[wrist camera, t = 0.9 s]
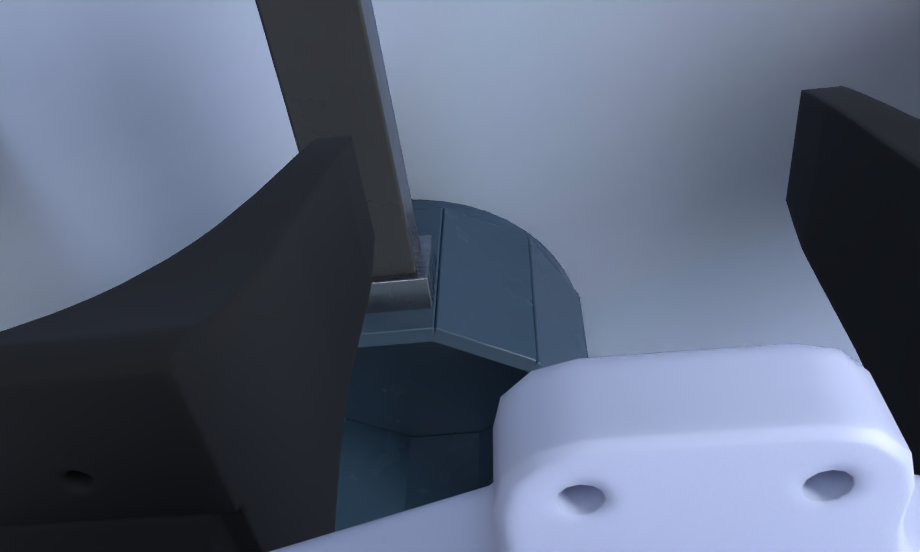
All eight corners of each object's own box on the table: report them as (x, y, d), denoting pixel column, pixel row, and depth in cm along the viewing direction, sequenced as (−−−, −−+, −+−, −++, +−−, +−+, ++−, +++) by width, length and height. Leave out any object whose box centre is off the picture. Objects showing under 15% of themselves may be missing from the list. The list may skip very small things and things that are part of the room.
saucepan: (585, 421, 32) (603, 563, 27) (313, 440, 33) (283, 580, 29) (553, -130, 20) (575, -52, 15) (128, -71, 21) (19, 19, 16)
